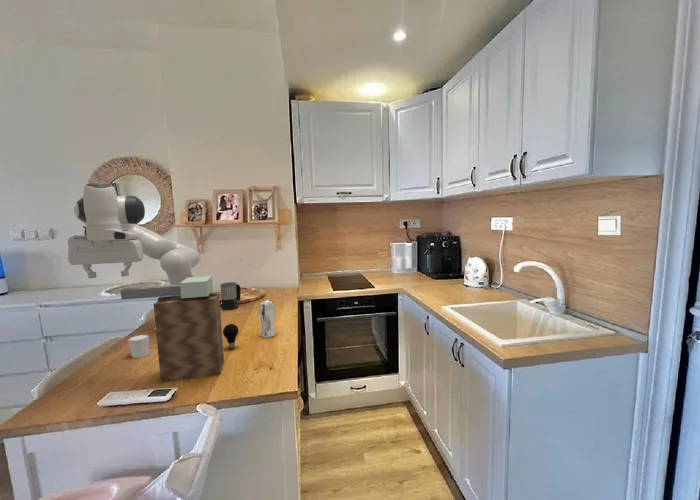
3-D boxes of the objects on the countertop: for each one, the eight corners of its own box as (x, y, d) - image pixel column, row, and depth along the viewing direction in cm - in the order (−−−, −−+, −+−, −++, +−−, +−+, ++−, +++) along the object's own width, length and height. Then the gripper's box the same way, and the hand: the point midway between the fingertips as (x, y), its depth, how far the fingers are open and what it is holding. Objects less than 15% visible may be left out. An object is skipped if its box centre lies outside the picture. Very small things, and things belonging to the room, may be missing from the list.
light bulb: (230, 352, 125) (228, 327, 124) (221, 349, 128) (219, 325, 127) (242, 346, 129) (241, 323, 128) (233, 344, 133) (231, 321, 132)
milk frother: (234, 310, 183) (232, 285, 181) (207, 311, 183) (205, 285, 181) (243, 303, 197) (241, 280, 195) (218, 304, 197) (216, 280, 196)
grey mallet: (116, 303, 97) (114, 287, 97) (130, 296, 107) (128, 281, 106) (208, 296, 104) (206, 281, 103) (212, 289, 113) (211, 275, 113)
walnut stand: (160, 382, 102) (153, 301, 100) (169, 368, 112) (163, 294, 109) (220, 374, 107) (214, 296, 104) (224, 361, 117) (218, 290, 114)
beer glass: (272, 338, 138) (270, 305, 136) (257, 337, 139) (255, 304, 137) (278, 332, 144) (277, 300, 143) (264, 332, 146) (262, 300, 144)
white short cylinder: (136, 351, 128) (134, 334, 127) (154, 350, 128) (152, 333, 128) (125, 359, 121) (123, 341, 120) (144, 357, 122) (142, 340, 121)
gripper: (60, 236, 96) (65, 280, 98) (134, 233, 100) (138, 276, 101) (74, 235, 103) (78, 277, 104) (143, 233, 106) (147, 273, 108)
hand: (109, 277), depth 103 cm, fingers open, 8 cm apart
